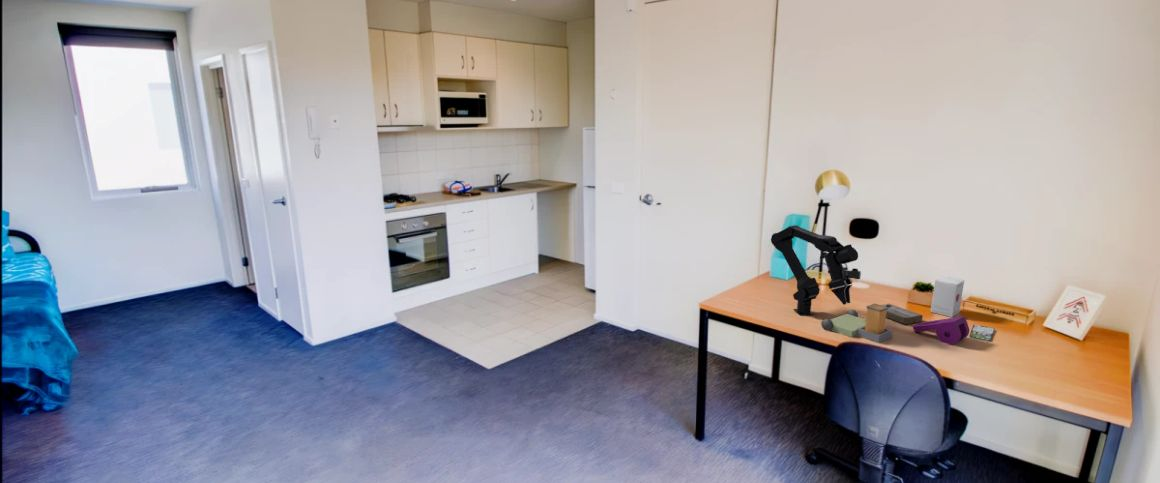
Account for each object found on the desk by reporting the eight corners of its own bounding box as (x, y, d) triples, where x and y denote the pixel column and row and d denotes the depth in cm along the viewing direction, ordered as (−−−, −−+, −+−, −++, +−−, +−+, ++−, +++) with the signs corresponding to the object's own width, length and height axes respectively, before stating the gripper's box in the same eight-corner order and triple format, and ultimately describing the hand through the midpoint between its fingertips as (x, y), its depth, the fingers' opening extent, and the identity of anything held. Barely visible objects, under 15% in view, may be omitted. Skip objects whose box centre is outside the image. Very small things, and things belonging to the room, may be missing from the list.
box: (904, 325, 253) (905, 318, 252) (870, 312, 269) (871, 305, 268) (923, 322, 257) (924, 315, 256) (888, 309, 273) (889, 302, 272)
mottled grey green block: (968, 336, 241) (973, 324, 252) (968, 339, 241) (973, 326, 252) (991, 341, 236) (995, 328, 248) (990, 344, 237) (994, 330, 248)
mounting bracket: (914, 348, 246) (961, 343, 231) (908, 327, 247) (953, 321, 232) (926, 342, 251) (972, 337, 237) (919, 322, 252) (965, 316, 238)
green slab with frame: (820, 328, 251) (821, 318, 250) (848, 318, 262) (849, 308, 261) (871, 346, 234) (872, 335, 233) (898, 334, 244) (899, 324, 243)
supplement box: (952, 317, 261) (957, 284, 257) (929, 312, 268) (934, 279, 264) (960, 312, 267) (965, 279, 263) (937, 307, 274) (942, 275, 270)
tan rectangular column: (862, 335, 243) (866, 306, 240) (871, 332, 247) (874, 303, 243) (876, 340, 239) (880, 310, 236) (884, 337, 242) (888, 307, 239)
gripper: (851, 261, 239) (864, 300, 236) (858, 261, 255) (871, 297, 252) (822, 269, 245) (835, 307, 242) (831, 268, 260) (843, 304, 258)
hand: (847, 303), depth 248 cm, fingers open, 9 cm apart
